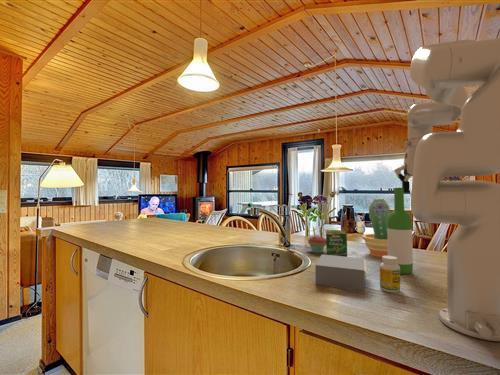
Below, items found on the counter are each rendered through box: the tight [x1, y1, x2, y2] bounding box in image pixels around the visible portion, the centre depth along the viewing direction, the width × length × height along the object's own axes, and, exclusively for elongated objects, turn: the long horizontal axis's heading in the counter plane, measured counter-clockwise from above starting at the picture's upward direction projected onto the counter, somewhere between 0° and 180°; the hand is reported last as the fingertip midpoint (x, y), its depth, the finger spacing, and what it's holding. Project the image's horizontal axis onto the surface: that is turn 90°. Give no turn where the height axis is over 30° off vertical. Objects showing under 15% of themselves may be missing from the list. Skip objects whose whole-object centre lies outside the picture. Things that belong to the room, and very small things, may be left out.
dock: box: [314, 254, 367, 292], centre depth 86 cm, size 14×14×6 cm
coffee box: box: [325, 229, 348, 257], centre depth 106 cm, size 8×3×13 cm, turn 63°
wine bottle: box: [387, 187, 414, 275], centre depth 95 cm, size 8×8×30 cm
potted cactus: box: [361, 198, 391, 258], centre depth 119 cm, size 15×15×25 cm
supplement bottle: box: [379, 256, 401, 294], centre depth 78 cm, size 5×5×10 cm
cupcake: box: [307, 226, 326, 254], centre depth 125 cm, size 9×8×12 cm
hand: (420, 192), depth 94 cm, fingers open, 9 cm apart
